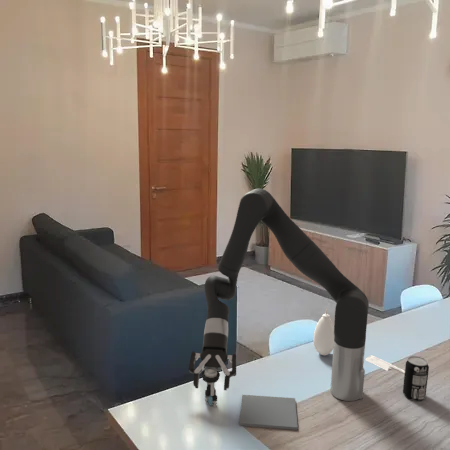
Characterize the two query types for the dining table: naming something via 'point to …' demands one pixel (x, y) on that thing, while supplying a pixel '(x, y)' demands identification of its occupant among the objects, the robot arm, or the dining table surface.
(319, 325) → the sauce bottle
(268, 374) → the dining table surface
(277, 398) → the rubber mat
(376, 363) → the white plastic strip tool
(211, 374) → the push button
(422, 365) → the beverage can
